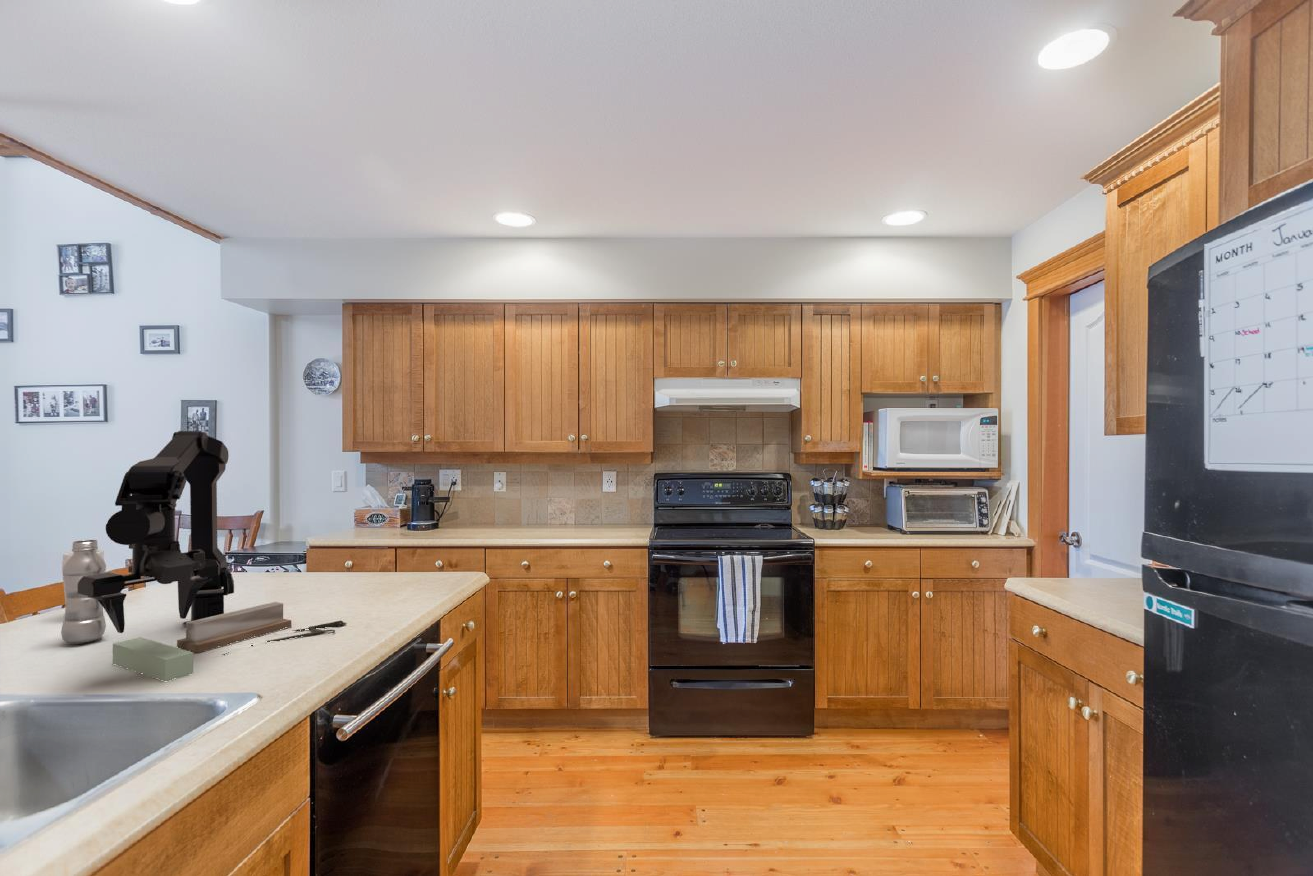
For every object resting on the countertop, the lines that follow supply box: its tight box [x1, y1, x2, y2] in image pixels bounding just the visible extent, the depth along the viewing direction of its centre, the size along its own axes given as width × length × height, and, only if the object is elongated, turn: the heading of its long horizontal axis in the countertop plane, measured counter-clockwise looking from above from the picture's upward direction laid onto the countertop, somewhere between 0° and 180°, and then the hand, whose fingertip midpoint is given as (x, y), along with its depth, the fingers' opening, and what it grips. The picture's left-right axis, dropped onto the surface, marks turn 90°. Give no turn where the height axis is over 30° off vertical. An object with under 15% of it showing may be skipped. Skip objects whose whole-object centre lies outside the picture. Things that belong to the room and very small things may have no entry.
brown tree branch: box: [222, 620, 347, 656], centre depth 121 cm, size 24×10×2 cm, turn 124°
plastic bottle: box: [60, 539, 107, 644], centre depth 119 cm, size 6×7×20 cm
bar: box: [112, 636, 194, 682], centre depth 105 cm, size 18×4×4 cm, turn 63°
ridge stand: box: [176, 601, 292, 654], centre depth 123 cm, size 7×18×5 cm, turn 155°
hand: (153, 625), depth 105 cm, fingers open, 9 cm apart
